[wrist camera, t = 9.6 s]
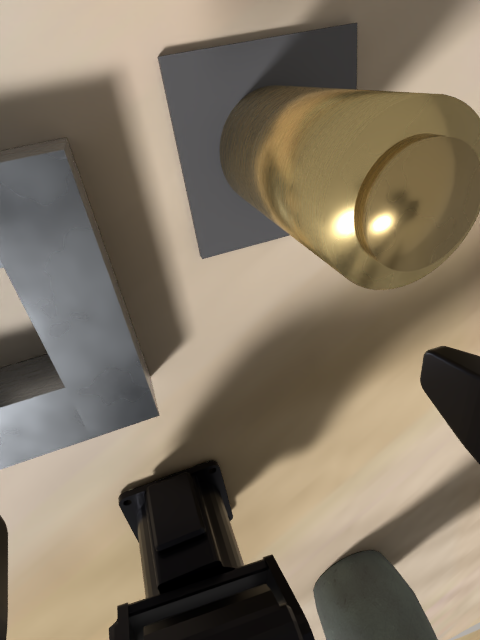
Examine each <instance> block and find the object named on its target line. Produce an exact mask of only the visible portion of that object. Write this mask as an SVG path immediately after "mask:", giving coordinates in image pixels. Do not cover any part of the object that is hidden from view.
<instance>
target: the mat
mask: <svg viewBox="0 0 480 640" xmlns="http://www.w3.org/2000/svg"><path fill="white" fill-rule="evenodd" d="M158 61H159V66H160V70H161V75H162V79H163V84H164V89H165V93H166V98H167V103H168V107H169V112H170V117H171V121H172V126H173V131H174V135H175V140H176V145H177V149H178V154H179V159H180V163H181V168H182V173H183V177H184V182H185V187H186V191H187V196H188V200H189V205H190V210H191V214H192V219H193V224H194V228H195V233H196V238H197V242H198V247H199V252H200V256H201V258H202V259H204V258H208V257H212V256H215V255H219V254H223V253H226V252H230V251H234V250H237V249H241V248H245V247H248V246H252V245H256V244H259V243H263V242H267V241H270V240H274V239H278V238H281V237H285V236H289V235H290V234H288V233H287V232H286V231H284V230H283V229H282V228H280V227H279V226H278V225H277V224H275V223H274V222H273V221H271V220H270V219H269V218H267V217H266V216H265V215H264V214H262V213H261V212H260V211H258V210H257V209H256V208H254V207H253V206H252V205H251V204H249V203H248V202H247V201H245V200H244V199H243V198H241V197H240V196H239V195H238V194H237V193H236V192H235V191H234V190H233V189H232V188H231V186H230V185H229V183H228V182H227V180H226V178H225V176H224V173H223V170H222V167H221V162H220V140H221V135H222V131H223V128H224V125H225V122H226V120H227V118H228V116H229V115H230V113H231V111H232V110H233V109H234V107H235V106H236V105H237V104H238V103H239V102H240V100H242V99H243V98H244V97H245V96H246V95H248V94H249V93H251V92H253V91H255V90H257V89H259V88H262V87H266V86H272V85H281V86H300V87H318V88H336V89H355V90H356V85H357V23H352V24H346V25H341V26H335V27H329V28H323V29H317V30H311V31H306V32H300V33H294V34H288V35H282V36H276V37H270V38H265V39H259V40H253V41H247V42H241V43H235V44H229V45H224V46H218V47H212V48H206V49H200V50H194V51H189V52H183V53H177V54H171V55H165V56H159V57H158Z"/></svg>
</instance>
